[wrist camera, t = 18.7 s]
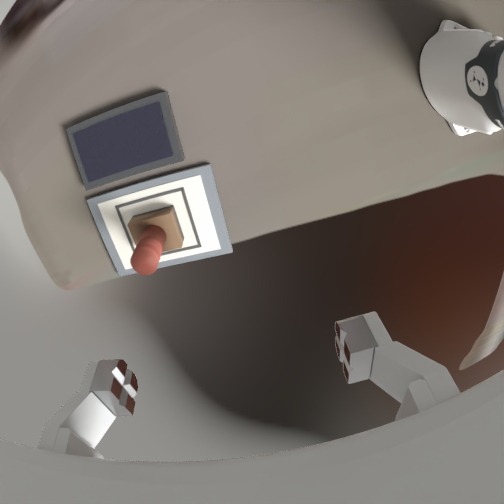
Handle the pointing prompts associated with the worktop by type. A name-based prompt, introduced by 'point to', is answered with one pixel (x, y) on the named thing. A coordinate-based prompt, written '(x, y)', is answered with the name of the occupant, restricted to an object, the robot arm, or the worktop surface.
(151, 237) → the stamp
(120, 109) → the ink pad
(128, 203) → the board
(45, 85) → the worktop surface
